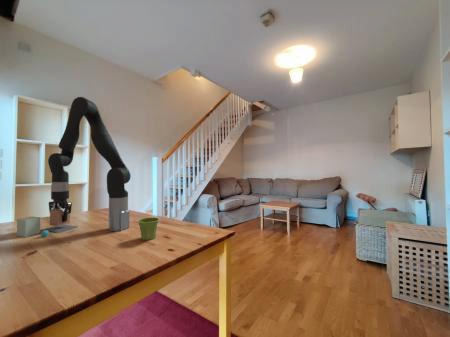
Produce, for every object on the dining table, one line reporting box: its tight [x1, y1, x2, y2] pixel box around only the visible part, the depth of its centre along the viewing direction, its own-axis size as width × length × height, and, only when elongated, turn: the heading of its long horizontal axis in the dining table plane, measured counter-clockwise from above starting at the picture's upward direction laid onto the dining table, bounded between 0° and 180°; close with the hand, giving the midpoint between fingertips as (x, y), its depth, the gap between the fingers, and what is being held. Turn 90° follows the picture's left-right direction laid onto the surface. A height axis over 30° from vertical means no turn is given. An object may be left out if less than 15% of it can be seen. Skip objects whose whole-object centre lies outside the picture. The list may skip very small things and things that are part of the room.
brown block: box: [49, 208, 71, 227], centre depth 107 cm, size 6×6×8 cm
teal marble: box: [40, 230, 50, 238], centre depth 95 cm, size 3×3×3 cm
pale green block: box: [16, 216, 41, 238], centre depth 98 cm, size 6×6×8 cm
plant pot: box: [137, 217, 160, 241], centre depth 94 cm, size 9×9×9 cm
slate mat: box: [40, 224, 78, 234], centre depth 107 cm, size 12×10×1 cm
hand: (59, 221), depth 107 cm, fingers closed on brown block, 6 cm apart
